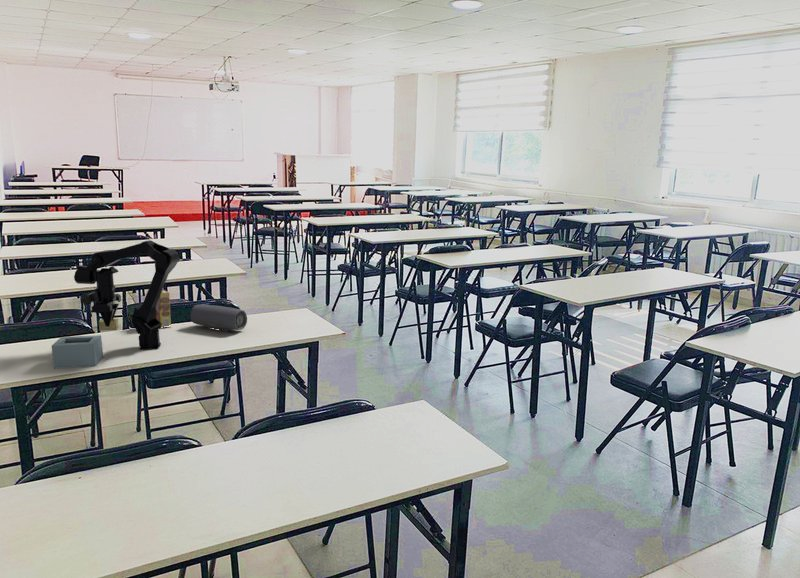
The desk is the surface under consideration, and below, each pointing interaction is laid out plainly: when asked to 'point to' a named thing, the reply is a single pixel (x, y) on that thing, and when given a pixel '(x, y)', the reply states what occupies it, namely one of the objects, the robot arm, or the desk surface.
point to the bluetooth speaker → (219, 317)
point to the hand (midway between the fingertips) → (108, 325)
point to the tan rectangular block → (112, 325)
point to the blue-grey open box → (77, 351)
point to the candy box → (163, 308)
